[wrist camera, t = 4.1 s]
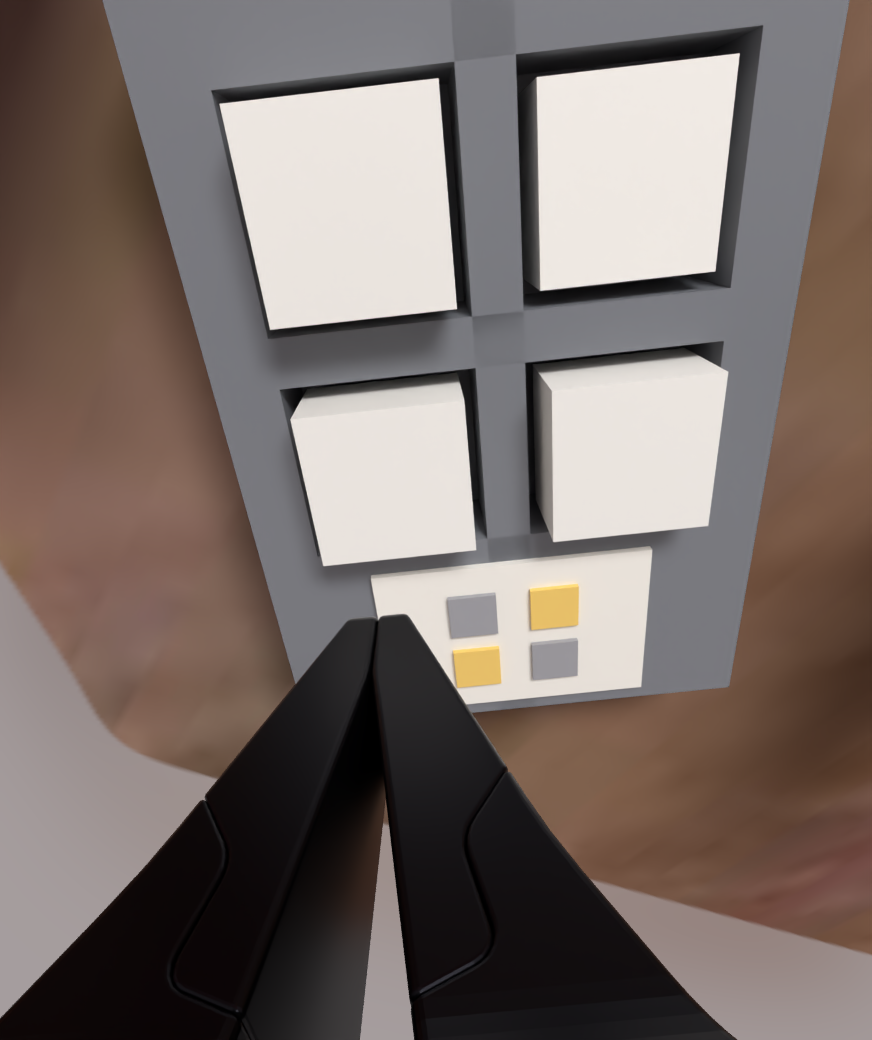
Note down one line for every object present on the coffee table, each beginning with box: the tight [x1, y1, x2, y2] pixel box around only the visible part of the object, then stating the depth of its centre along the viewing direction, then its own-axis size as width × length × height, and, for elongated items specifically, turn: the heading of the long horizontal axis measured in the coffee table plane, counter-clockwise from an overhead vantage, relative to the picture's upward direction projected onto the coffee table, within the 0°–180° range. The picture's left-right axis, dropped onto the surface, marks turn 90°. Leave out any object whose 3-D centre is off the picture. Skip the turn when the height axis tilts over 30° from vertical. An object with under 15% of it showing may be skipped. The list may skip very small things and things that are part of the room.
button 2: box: [290, 373, 476, 566], centre depth 16 cm, size 4×4×2 cm
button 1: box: [219, 78, 457, 330], centre depth 13 cm, size 4×4×2 cm
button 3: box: [517, 53, 740, 291], centre depth 14 cm, size 4×4×2 cm
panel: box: [103, 0, 849, 713], centre depth 17 cm, size 14×20×4 cm
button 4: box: [532, 348, 728, 542], centre depth 16 cm, size 4×4×2 cm
